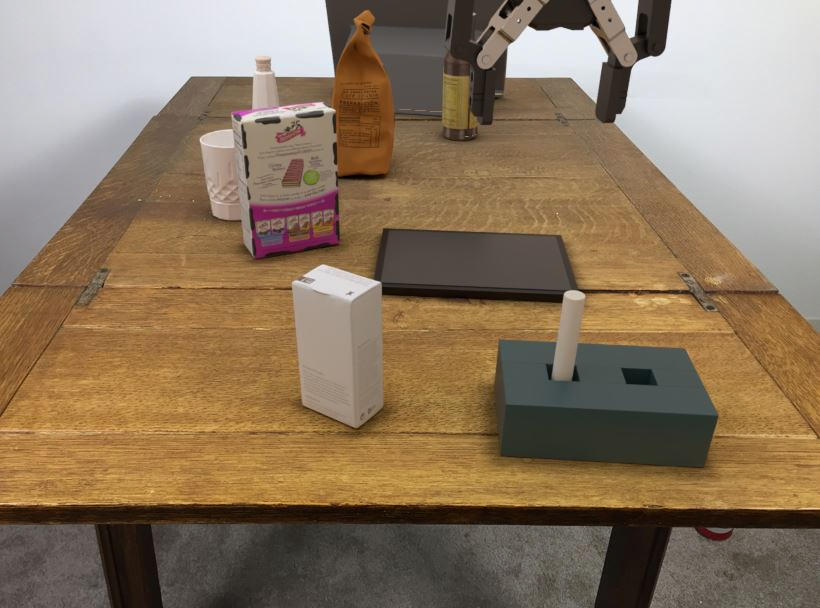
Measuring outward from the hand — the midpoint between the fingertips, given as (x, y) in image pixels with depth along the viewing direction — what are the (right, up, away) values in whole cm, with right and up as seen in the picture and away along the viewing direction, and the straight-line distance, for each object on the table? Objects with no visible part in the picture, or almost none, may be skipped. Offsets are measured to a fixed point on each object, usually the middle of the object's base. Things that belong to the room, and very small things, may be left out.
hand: (544, 121), depth 54 cm
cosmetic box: (-15, -21, +13) cm, 29 cm away
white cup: (-30, +2, +51) cm, 59 cm away
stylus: (+3, -22, +11) cm, 25 cm away
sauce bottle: (+3, +20, +81) cm, 84 cm away
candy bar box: (-22, -4, +42) cm, 47 cm away
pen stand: (+6, -22, +11) cm, 25 cm away
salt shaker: (-31, +25, +90) cm, 98 cm away
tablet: (0, -7, +37) cm, 37 cm away
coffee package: (-13, +11, +67) cm, 69 cm away
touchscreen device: (-4, +32, +102) cm, 107 cm away
